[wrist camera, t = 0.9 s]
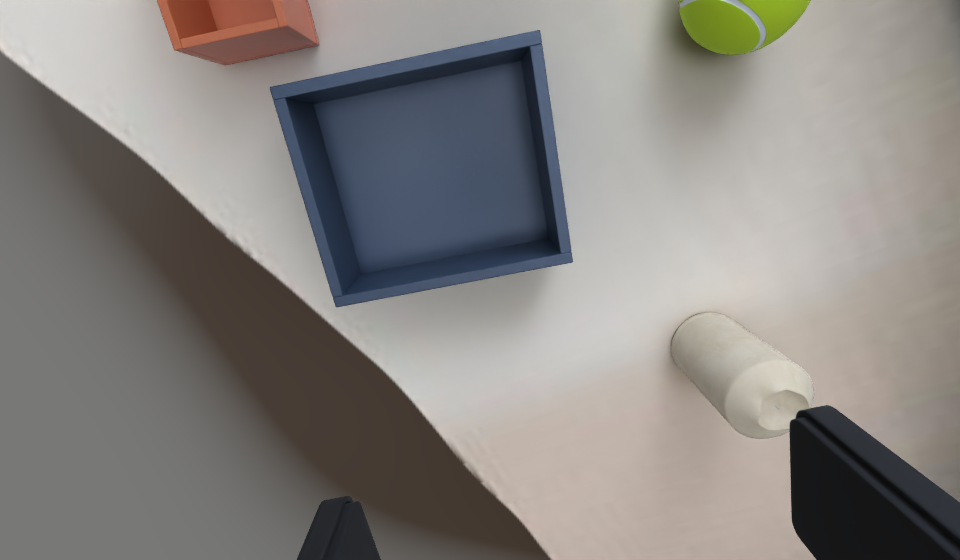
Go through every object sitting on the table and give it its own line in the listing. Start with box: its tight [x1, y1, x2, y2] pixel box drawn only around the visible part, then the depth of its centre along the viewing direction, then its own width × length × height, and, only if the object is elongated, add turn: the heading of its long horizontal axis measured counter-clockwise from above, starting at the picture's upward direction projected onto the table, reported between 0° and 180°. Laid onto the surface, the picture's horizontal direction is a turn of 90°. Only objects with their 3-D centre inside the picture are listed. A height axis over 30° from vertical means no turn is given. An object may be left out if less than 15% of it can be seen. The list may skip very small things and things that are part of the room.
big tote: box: [270, 30, 573, 307], centre depth 31 cm, size 13×15×6 cm
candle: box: [671, 312, 814, 439], centre depth 33 cm, size 6×6×10 cm
